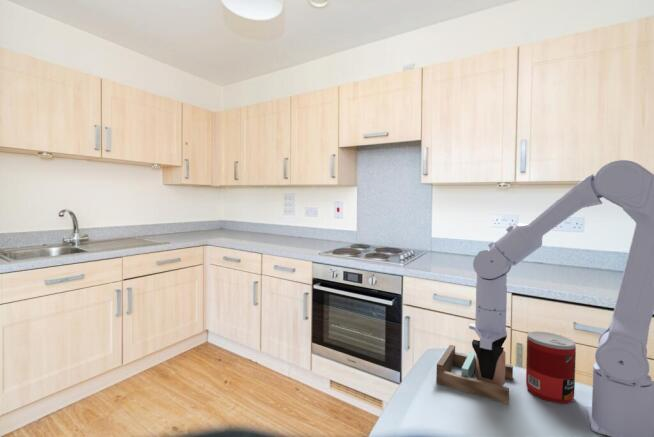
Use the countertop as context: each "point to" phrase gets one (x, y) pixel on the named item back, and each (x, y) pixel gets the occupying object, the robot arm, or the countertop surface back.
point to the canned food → (551, 366)
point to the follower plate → (469, 365)
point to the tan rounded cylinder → (499, 372)
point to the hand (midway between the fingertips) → (489, 372)
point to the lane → (466, 382)
